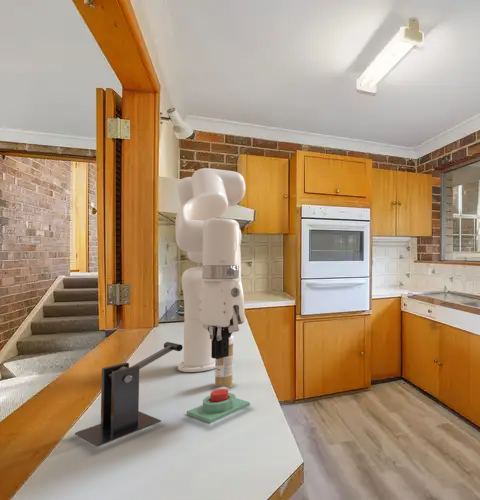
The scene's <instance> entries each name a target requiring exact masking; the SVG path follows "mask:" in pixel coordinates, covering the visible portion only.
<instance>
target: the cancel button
mask: <svg viewBox="0 0 480 500" xmlns="http://www.w3.org/2000/svg"><path fill="white" fill-rule="evenodd" d="M228 393H229V390H228V389H227V388H220V389H219V388H218V389H214V390H212V391H211V392H210V394H209V396H210V402H221V401H225V400H227V399H228Z"/></svg>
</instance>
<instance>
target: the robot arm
mask: <svg viewBox="0 0 480 500" xmlns="http://www.w3.org/2000/svg"><path fill="white" fill-rule="evenodd" d="M246 187H247V186H246V181H245V179H244V176H243V175H242V174H241V173H240V172H237V171H233V170H227V169H219V168H218V169H217V168H210V167H203V168H199V169H197V170H196V171H194V172H193V174H192V175H191V176H186V177H183V178H180V180H179V182H178V186H177V188H178V189H177V190H178V198H179V202H180V207H179V209H178V210H177V213H176V216H175V222H174V223H175V226H174V227H175V242H176V245H177V247H178V248H179V249H180V250H181V251H183V252H186V253H187V254H186V255H187V258H188V260H190V261H191V262H194V263H202V266H194V267H189V268H187V269H186V270H184V271H183V273H182V275H181V287H182V295H183V318H184V319H183V361H180V362H179V363H178V365H177V370H178V371H180V372H183V373H198V372H205V371H210V370H215V361H216V359H220V358H223V357H227V356H228V355H229V338H231V336H232V334H233V333H237V332H239V331H240V327H239V325H242V324H244V323H245V317H246V316H245V313H246V312H245V311H246V310H245V296H244V289H243V283H242V255H241V253H242V252H241V245H242V238H243V237H242V230H241V228H240V224H239V222H238V221H237V220H235V219H232V218H225V217H224V218H223V217H221V216H222V215H224V214H225V213H226V212H227V210H228V207H235V206H236V205H237V204H239V203H240V202H241V201H242V200H243V198H244V197H245V195H246Z"/></svg>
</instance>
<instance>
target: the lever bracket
mask: <svg viewBox="0 0 480 500" xmlns="http://www.w3.org/2000/svg"><path fill="white" fill-rule="evenodd" d="M123 366H124V367H127V368H125V369H121V370H117V369H119V368H121V367H123ZM132 366H133V365H132ZM132 366H130V363H129V362H123V363H119V364H115V365H114V364H113V365H110V366H104V367H102V368H101V387H100V388H101V389H100V390H101V393H100V394H101V395H100V423H98V424H96V425H93V426H90V427H87V428H84V429H82V430H79V431H76V432H74V434H75V435H77V436H78V437H79V438H82V439H84V440H85V441H87V442H89V443H90V444H92V445H94V446H96V447H99V446H103V445H105V444H108V443H110V442H112V441H114V440H118V439H121V438H123V437H125V436H128V435H130V434H133V433H135V432H138V431H140V430H143V429H146V428H147V427H150V426H153V425H156V424H158V423H160V422H162V420H161V419H159V418H157V417H154V416H151V415H149V414H147V413H144V412H141V411H139V405H140V404H139V403H140V400H139V399H140V369H139V366H133V367H132ZM115 370H116V371H115ZM110 373H112V383H111V380H110V378H109V375H108V374H110Z"/></svg>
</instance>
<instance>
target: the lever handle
mask: <svg viewBox="0 0 480 500" xmlns="http://www.w3.org/2000/svg"><path fill="white" fill-rule="evenodd" d="M183 349H184V345H183V344H179V343H174V342H171V341H166V342H164V343H163V348H162V349H160V350H158V351H156V352H155V353H153V354H151V355H150V356H148V357H146V358H144V359H142V360H141V361H139V362H136V363H135V364H133V365H131V367H133V366H139V370H141V369H142V368H144V367H146V366H148V365H150V364H152V363H153V362H155V361H156V360H158V359H160V358H161V357H163V356H165V355H167V354H169V353H170V352H172V351H174V352H175V351H176V352H181V351H182V350H183ZM125 368H127V367H124V366H123V367H121V368H119V369H117V370H121V369H125ZM115 371H116V370H115ZM108 375H109V378H110V380H111V383H112V373H110V374H108Z"/></svg>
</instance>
